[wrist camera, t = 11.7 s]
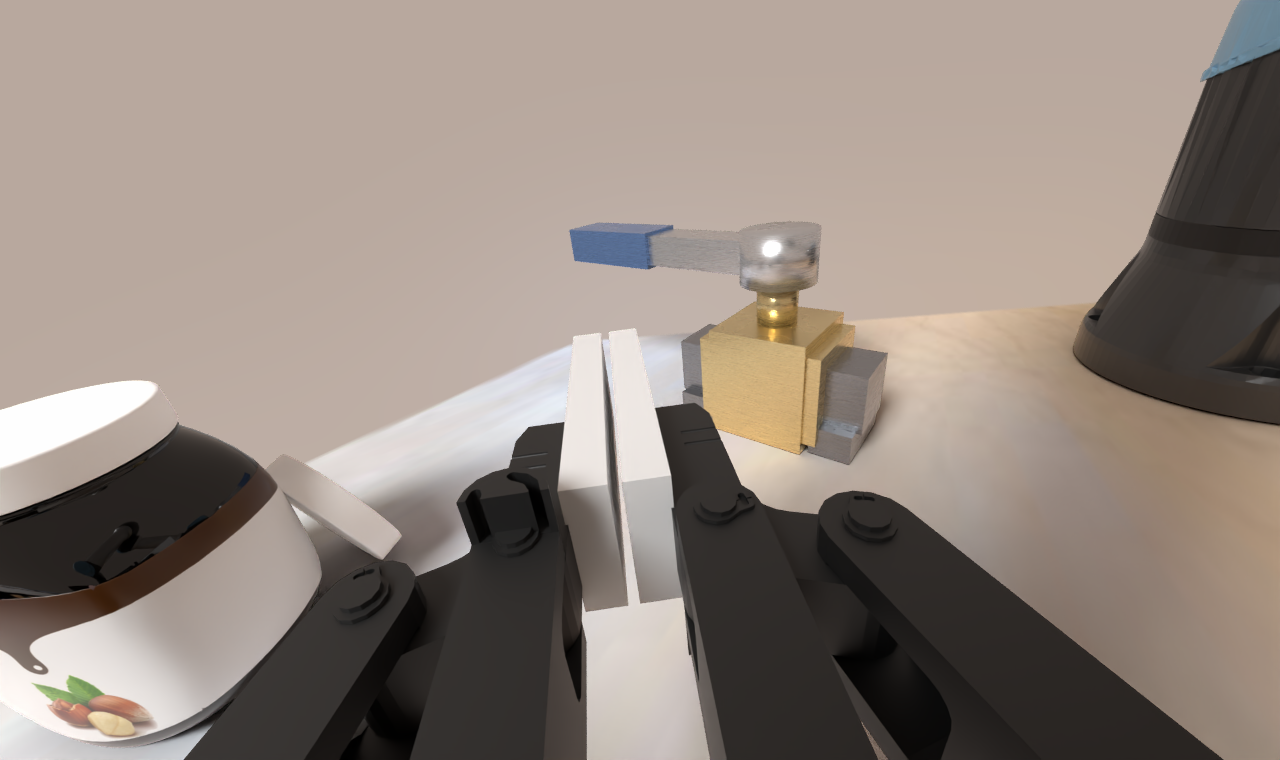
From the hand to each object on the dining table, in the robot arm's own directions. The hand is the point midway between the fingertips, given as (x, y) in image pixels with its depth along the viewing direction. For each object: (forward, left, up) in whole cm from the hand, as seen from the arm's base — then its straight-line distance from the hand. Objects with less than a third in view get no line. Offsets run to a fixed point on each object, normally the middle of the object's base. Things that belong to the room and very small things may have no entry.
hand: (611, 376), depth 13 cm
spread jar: (+18, -4, -12) cm, 22 cm away
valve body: (-10, -14, -12) cm, 21 cm away
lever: (-5, -20, -2) cm, 21 cm away
